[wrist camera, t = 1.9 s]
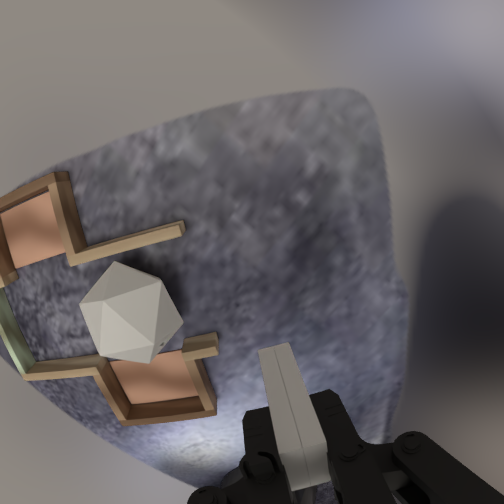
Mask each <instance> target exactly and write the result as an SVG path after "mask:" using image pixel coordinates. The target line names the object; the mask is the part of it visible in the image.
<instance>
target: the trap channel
mask: <svg viewBox="0 0 504 504" xmlns="http://www.w3.org/2000/svg"><path fill="white" fill-rule="evenodd" d="M47 190H49V192H46V193H44V194H42V195H40V196H37V197H35V198H33V199H31V200H29V201H26V202H24V203H22V204H20V205H18V206H16V207H14V208H12V209H10V210H7V211H5V212H3V213H1V214H0V335H1V337H2V339H3V341H4V343H5V345H6V347H7V349H8V351H9V353H10V355H11V357H12V359H13V361H14V363H15V364H16V366H17V368H18V370H19V372H20V373H21V375H22V377H23V379H24V380H25V381H30V380H46V379H59V378H71V377H81V376H91V375H93V377H94V379H95V381H96V383H97V384H98V386H99V388H100V390H101V391H102V393H103V395H104V397H105V398H106V400H107V402H108V403H109V405H110V407H111V408H112V410H113V412H114V413H115V415H116V416H117V418H118V420H119V421H120V423H121V424H122V426H133V425H146V424H157V423H166V422H175V421H183V420H190V419H197V418H204V417H210V416H216V415H217V398H216V395H215V393H214V390H213V388H212V385H211V383H210V380H209V378H208V375H207V372H206V370H205V367H204V365H203V362H202V359H201V358H206V357H210V356H215V355H218V348H219V339H218V336H217V333H216V332H213V333H209V334H204V335H199V336H195V337H190V338H185V339H184V343H183V347H182V349H180V350H174V351H169V352H164V353H158V354H157V355H156V356H155V358H154V359H153V360H152V361H151V362H150V363H149V364H147V363H140V362H134V361H127V360H115V361H110V364H111V366H112V368H113V370H114V372H115V373H114V372H113V370H112V368H111V366H110V364H109V362H108V359H107V357H104V356H100V355H99V354H94V355H87V356H80V357H73V358H65V359H57V360H48V361H40V362H36V361H35V359H34V357H33V355H32V353H31V351H30V349H29V347H28V345H27V343H26V341H25V339H24V337H23V335H22V333H21V331H20V328H19V326H18V324H17V322H16V319H15V317H14V315H13V312H12V310H11V307H10V305H9V302H8V300H7V297H6V295H5V292H4V289H3V287H5V286H7V285H9V284H10V283H12V282H13V281H15V280H17V279H18V275H17V272H16V269H15V268H19V267H22V266H25V265H28V264H31V263H34V262H37V261H40V260H43V259H46V258H49V257H52V256H55V255H58V254H61V253H64V252H66V255H67V258H68V261H69V264H70V267H71V266H75V265H78V264H81V263H85V262H88V261H92V260H95V259H99V258H102V257H106V256H110V255H113V254H117V253H120V252H124V251H128V250H131V249H135V248H139V247H142V246H146V245H150V244H153V243H157V242H161V241H165V240H168V239H172V238H176V237H180V236H182V235H183V234H184V232H185V231H186V228H185V225H184V221H183V220H181V221H177V222H173V223H169V224H166V225H162V226H158V227H155V228H151V229H148V230H144V231H140V232H137V233H133V234H130V235H126V236H123V237H119V238H116V239H113V240H109V241H106V242H102V243H99V244H96V245H93V246H89V247H87V243H86V240H85V237H84V233H83V230H82V226H81V223H80V219H79V215H78V212H77V208H76V204H75V200H74V196H73V192H72V188H71V183H70V179H69V174H68V172H52V173H50V174H48V175H46V176H43V177H41V178H39V179H37V180H35V181H33V182H31V183H29V184H26V185H24V186H22V187H20V188H18V189H16V190H14V191H13V192H11V193H9V194H7V195H5V196H3V197H1V198H0V212H2V211H4V210H6V209H8V208H10V207H12V206H14V205H16V204H19V203H21V202H23V201H25V200H27V199H29V198H31V197H34V196H36V195H38V194H40V193H43V192H45V191H47ZM1 220H2V221H1ZM2 224H3V225H2ZM6 239H7V240H6ZM9 249H10V250H9ZM12 259H13V260H12ZM13 262H14V263H13ZM14 265H15V266H14ZM115 374H116V375H115ZM116 376H117V377H116ZM117 378H118V379H117ZM118 380H119V381H118ZM119 382H120V383H119ZM120 384H121V385H120ZM121 386H122V387H121ZM122 388H123V389H124V390H123V389H122ZM124 391H125V392H124ZM125 393H126V394H125ZM126 395H127V396H126ZM198 395H199V396H198ZM192 396H193V397H192ZM127 397H128V398H127ZM185 397H187V398H185ZM179 398H181V399H179ZM128 399H129V400H130V401H129V400H128ZM172 399H174V400H172ZM165 400H167V401H165ZM157 401H159V402H157ZM130 402H131V403H130ZM149 402H151V403H149ZM140 403H142V404H140ZM131 404H132V405H131Z"/></svg>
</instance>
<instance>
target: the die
mask: <svg viewBox="0 0 504 504" xmlns="http://www.w3.org/2000/svg"><path fill="white" fill-rule="evenodd" d="M79 305H80V308H81V310H82V313H83V316H84V318H85V321H86V324H87V326H88V329H89V331H90V334H91V336H92V338H93V341H94V343H95V346H96V348H97V350H98V352H99V355H100V356H104V357H110V358H115V359H121V360H127V361H134V362H140V363H147V364H149V363H150V362H151V361H152V360H153V359H154V358H155V356H156V355H157V354H158V353H159V352H160V350H161V349H162V348H163V347H164V346H165V344H166V343H167V342H168V341H169V340H170V339H171V337H172V336H173V335H174V334H175V333H176V331H177V330H178V329H179V328H180V327H181V326H182V324H183V323H184V322H183V320H182V318H181V316H180V314H179V313H178V311H177V309H176V307H175V305H174V303H173V301H172V300H171V298H170V296H169V294H168V292H167V290H166V288H165V286H164V284H163V282H162V281H161V279H160V278H159V277H156V276H153V275H151V274H148V273H145V272H142V271H140V270H137V269H134V268H132V267H129V266H126V265H124V264H121V263H118V262H116V261H114V262H113V263H112V264H111V265H110V267H109V268H108V269H107V270H106V271H105V273H104V274H103V275H102V276H101V277H100V279H99V280H98V281H97V282H96V284H95V285H94V286H93V287H92V288H91V290H90V291H89V292H88V293H87V295H86V296H85V297H84V299H83V300H82V301H81V302H80V304H79Z"/></svg>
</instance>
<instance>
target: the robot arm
mask: <svg viewBox="0 0 504 504" xmlns="http://www.w3.org/2000/svg"><path fill="white" fill-rule="evenodd" d="M273 347H274V348H273ZM258 354H259V359H260V364H261V369H262V374H263V379H264V384H265V389H266V394H267V399H268V404H269V406H268V407H263V408H259V409H254V410H250V411H246V413H245V415H244V418H243V420H242V423H243V431H244V432H243V433H244V444H245V454H246V455H244V456H243V458H242V459H241V460H240V463H239V467H238V468H236V469H234V470H233V471H231V472H230V473H228V474H227V475H226V476H225V477H224V478H223V480H222V482H221V489H220V488H218V487H214V486H205V487H202V488H199V489H197V490H196V491H194V492H193V493H192V494H191V496H190V497H189V500H188V502H187V504H315V499H316V491H317V485H318V484H322V483H325V482H328V481H331V480H332V483H333V486H334V495H335V500H337V502H338V504H397V503H396V501H395V499H394V497H393V495H394V496H395V497H396V498H397V499H398V500H399V501H400V502H401V503H402V504H504V496H503V495H502V494H501V493H499V492H498V491H497V490H495V489H494V488H493V487H491V486H490V485H489V484H488V483H486V482H485V481H484V480H482V479H481V478H480V477H478V476H477V475H476V474H475V473H473V472H472V471H471V470H469V469H468V468H467V467H466V466H464V465H463V464H462V463H460V462H459V461H458V460H457V459H455V458H454V457H453V456H451V455H450V454H449V453H448V452H446V451H445V450H444V449H443V448H441V447H440V446H439V445H438V444H436V443H435V442H434V441H433V440H431V439H430V438H429V437H428V436H426V435H425V434H423V433H421V432H416V431H411V432H406V433H404V434H402V435H400V436H399V437H398V438H397V439H396V440H395V441H394V443H387V444H370V443H367V442H365V441H363V440H362V439H361V438H360V437H359V435H358V434H357V432H356V430H355V428H354V426H353V424H352V422H351V419H350V417H349V415H348V413H347V412H346V410H345V408H344V406H343V404H342V402H341V400H340V398H339V396H338V394H336V393H335V392H333V391H332V390H330V389H328V390H325V391H322V392H318V393H315V394H311V395H309V394H308V392H307V389H306V386H305V384H304V381H303V379H302V376H301V373H300V371H299V368H298V365H297V363H296V360H295V358H294V355H293V352H292V350H291V347H290V345H289V342H287V343H283V344H280V345H276V346H272V347H268V348H264V349H259V350H258ZM392 494H393V495H392Z"/></svg>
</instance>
